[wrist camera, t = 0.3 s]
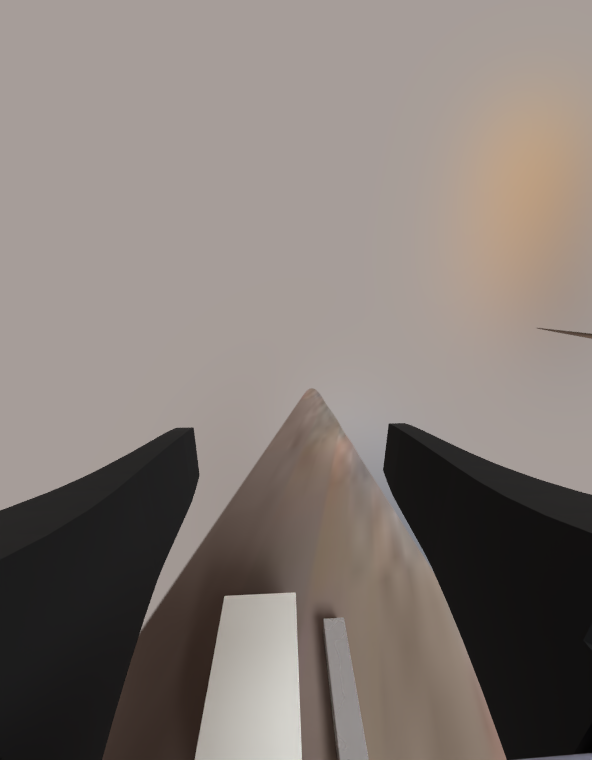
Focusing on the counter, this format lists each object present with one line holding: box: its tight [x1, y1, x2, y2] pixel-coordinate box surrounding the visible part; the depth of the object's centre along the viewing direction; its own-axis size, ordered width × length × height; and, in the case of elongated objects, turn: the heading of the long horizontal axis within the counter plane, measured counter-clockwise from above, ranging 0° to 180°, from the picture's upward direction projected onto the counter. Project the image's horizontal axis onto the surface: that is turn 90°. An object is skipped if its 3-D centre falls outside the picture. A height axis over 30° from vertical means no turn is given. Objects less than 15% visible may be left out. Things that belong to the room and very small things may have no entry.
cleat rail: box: [323, 618, 369, 760], centre depth 18 cm, size 9×2×2 cm, turn 2°
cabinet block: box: [195, 593, 302, 760], centre depth 17 cm, size 8×5×6 cm, turn 2°
